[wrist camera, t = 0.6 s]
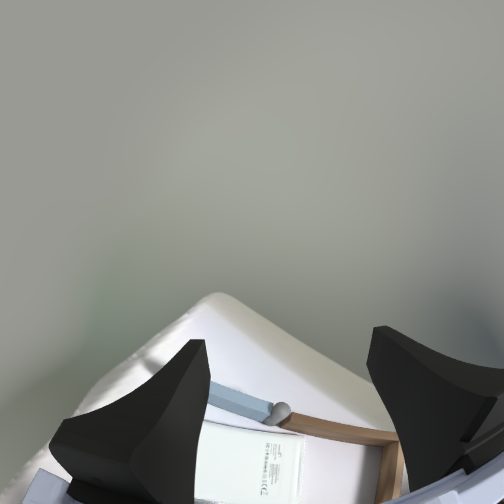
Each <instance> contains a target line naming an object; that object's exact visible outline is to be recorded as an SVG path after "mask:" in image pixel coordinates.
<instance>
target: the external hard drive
mask: <svg viewBox="0 0 504 504" xmlns="http://www.w3.org/2000/svg"><path fill="white" fill-rule="evenodd" d="M304 447H305V437H304V436H299V435H288V434H278V433H270V432H262V431H255V430H248V429H242V428H236V427H231V426H226V425H221V424H216V423H211V422H207V421H203V424H202V428H201V432H200V437H199V442H198V450H197V460H196V473H195V492H194V498H197V499H202V500H208V501H214V502H221V503H228V504H300V503H301V493H302V479H303V464H304Z"/></svg>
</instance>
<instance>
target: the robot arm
mask: <svg viewBox="0 0 504 504" xmlns="http://www.w3.org/2000/svg"><path fill="white" fill-rule="evenodd" d="M366 364H367V367H368V370H369V374H370V376H371V379H372V382H373V384H374V386H375V388H376V390H377V392H378V394H379V395H380V397H381V399H382V401H383V403H384V405H385V407H386V409H387V411H388V413H389V415H390V417H391V419H392V421H393V423H394V426H395V429H396V432H397V435H398V438H399V441H400V445H401V448H402V452H403V456H404V460H405V464H406V469H407V474H408V481H409V488H410V493H409V494H406V495H404V496H401V497H398V498H395V499H393V500H390V501H387V502H384V503H381V504H497V503H498V502H500V501H501V500H502V499H503V498H504V369H496V368H489V367H483V366H478V365H474V364H469V363H466V362H462V361H458V360H456V359H453V358H451V357H448V356H445V355H443V354H440V353H438V352H436V351H434V350H432V349H430V348H428V347H426V346H424V345H422V344H420V343H418V342H416V341H414V340H413V339H411V338H409V337H407V336H405V335H403V334H402V333H400V332H398V331H396V330H394V329H392V328H390V327H388V326H380V327H374V328H373V334H372V339H371V345H370V349H369V354H368V359H367V363H366ZM210 379H211V375H210V369H209V364H208V358H207V351H206V345H205V339H190V340H189V341H188V342H187V343H186V344H185V345H184V346H183V347H182V349H181V350H180V351H179V352H178V353H177V354H176V355H175V356H174V357H173V358H172V359H171V360H170V361H169V362H168V363H167V364H166V365H165V366H164V367H163V368H162V369H161V370H159V371H158V372H157V373H156V374H155V375H154V376H153V377H151V378H150V379H149V380H148V381H146V382H145V383H144V384H142V385H141V386H140V387H138V388H137V389H135V390H134V391H132V392H131V393H129V394H127V395H125V396H124V397H122V398H120V399H118V400H116V401H115V402H113V403H111V404H109V405H106V406H104V407H102V408H100V409H97V410H94V411H92V412H89V413H86V414H83V415H79V416H76V417H72V418H69V419H65V420H63V422H62V423H61V425H60V427H59V428H58V430H57V432H56V433H55V435H54V436H53V438H52V440H51V441H50V443H49V449H50V452H51V454H52V455H53V457H54V458H55V459H56V460H57V462H58V463H59V464H60V465H61V466H62V467H63V468H64V469H65V470H66V471H67V472H68V473H69V474H70V475H71V476H72V477H73V479H72V481H71V483H69V482H67V481H66V480H64V479H62V478H60V477H58V476H56V475H54V474H52V473H50V472H48V471H46V470H44V469H42V468H39V470H38V472H37V474H36V475H35V477H34V479H33V481H32V483H31V485H30V487H29V489H28V491H27V493H26V495H25V497H24V499H23V501H22V503H21V504H194V492H195V473H196V460H197V450H198V442H199V437H200V432H201V428H202V424H203V420H204V415H205V411H206V407H207V402H208V398H209V390H210Z"/></svg>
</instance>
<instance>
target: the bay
mask: <svg viewBox="0 0 504 504" xmlns="http://www.w3.org/2000/svg"><path fill="white" fill-rule="evenodd" d="M280 428H282V429H286V430H290V431H294V432H298V433H302V434H306V435H311V436H315V437H320V438H325V439H330V440H336V441H341V442H347V443H354V444H361V445H368V446H377V447H383V450H382V459H381V467H380V474H379V481H378V487H377V493H376V498H375V503H374V504H381V503H384V502H387V501H390V500H393V499H395V498H398V497H400V490H401V483H402V475H403V466H404V456H403V452H402V448H401V445H400V441H399V438H398V435H397V432H389V431H381V430H374V429H368V428H362V427H356V426H351V425H345V424H340V423H336V422H331V421H326V420H322V419H318V418H314V417H310V416H306V415H302V414H298V413H295V412H292V413H290V414H289V416H287V417H286V418H285V419H283V420H282V421H281V425H280Z"/></svg>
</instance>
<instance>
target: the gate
mask: <svg viewBox="0 0 504 504" xmlns="http://www.w3.org/2000/svg"><path fill="white" fill-rule="evenodd" d="M207 403H209V404H212V405H214V406H217V407H219V408H222V409H225V410H227V411H230V412H233V413H236V414H239V415H242V416H245V417H248V418H251V419H254V420H257V421H260V422H262V421H263V422H264V423H265V424H266V425H267V426H274V425H276V424H277V423H279V422H280V421H282V420H283V419H285V418H286V417H287V416H289V414H290V411H291V410H290V407H289V405H288V404H286V403H284V402H279V403H277V404H276V405H274V406H273V404H274V403H271V402H268V401H264V400H261V399H258V398H255V397H252V396H249V395H247V394H244V393H241V392H238V391H235V390H233V389H230V388H227V387H225V386H222V385H220V384H217V383H215V382H212V381H210V390H209V398H208V402H207Z"/></svg>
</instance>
